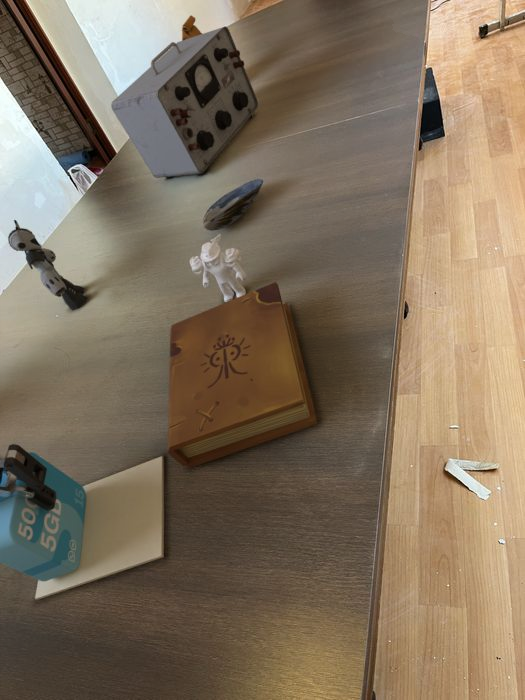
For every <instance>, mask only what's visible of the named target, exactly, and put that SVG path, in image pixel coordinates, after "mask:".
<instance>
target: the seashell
mask: <svg viewBox="0 0 525 700" xmlns="http://www.w3.org/2000/svg"><path fill="white" fill-rule="evenodd" d="M263 183H264V180H263V179H262V178H255V179H253V180H250V181H248V182H245V183H243V184H241V185H240V186H238V187H236V188H234V189H232V190H231V191H229V192H227V193H225V194H224V195H222V196H221V197H220V198H219V199H217V200H216V201H215V202H214V203H213V204H211V205H210V207H208V209H207V210H206V212H205V214H204V216H203V218H202V222H201V223H202V227H203V228H204V229H205V230H207V231H211V232H213V231H220V230H222V229H226V228H228V227H229V226H231V225H232V224H234V223H235V222H236V221H237V220H239V219H240V218H241V217H242V216H244V215H245V213H246V212H247V210H248V209H249V208H250V207H251V205H252V204H253V202H254V200H255V199H256V197H257V196H258V194H259V193H260V190H261V188H262V186H263Z"/></svg>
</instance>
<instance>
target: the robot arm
mask: <svg viewBox="0 0 525 700" xmlns="http://www.w3.org/2000/svg"><path fill="white" fill-rule="evenodd" d="M7 447H8V448H7V451H5V452H3V453H0V484H1V481H2V477H3V474H2V473H5V474H6V475H7V480H6V484H5V486H0V496H1V497H9V496H10V495H16V496H20V497H25V498H27V499H28V500H29V501H31V502H33V503H34V504H36V505H38V506H40V507H41V508H43V509H45V510H46V511H49V510H52V509H54V508H55V503H56V494H57V493H56V492H55V491H54V490H53V489H51V488H49V487H48V486H46V485H45V484H44V482H45V477H46V472H47V468H46V467H45V466H43V465H42V464H41V463H40V462H39V461H37V460H36V459H35V458H34V457H33V456H31V455H30V454H29V452H28V451H27V450H25V449H24V448H23V447H22V446H21V445H19V444H17V443H11V444H9V445H8V446H7ZM33 472H34V473H33ZM16 480H20V481H23V482H24V483H25V487H20V486H17V485H16V484H15V483H16Z"/></svg>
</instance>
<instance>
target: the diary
mask: <svg viewBox="0 0 525 700" xmlns="http://www.w3.org/2000/svg"><path fill="white" fill-rule="evenodd" d="M168 367H169V369H168V373H169V374H168V375H169V376H168V416H167V417H168V419H167V420H168V421H167V422H168V423H167V454H168V455H170V457H172V458H173V459H174V460H175V461H176V462H177V463H178V464H179V465H180V466H182V467H185V468H194V467H197V466H200V465H202V464H205V463H209V462H211V461H214V460H217V459H220V458H223V457H226V456H228V455H233V454H234V453H237V452H240V451H243V450H246V449H249V448H252V447H255V446H258V445H261V444H263V443H266V442H269V441H272V440H275V439H278V438H281V437H283V436H287V435H289V434H292V433H295V432H299V431H301V430H304V429H307V428H310V427H312V426H315V425H317V424H319V423H318V419H317V415H316V410H315V406H314V402H313V399H312V393H311V390H310V386H309V385H310V384H309V382H308V378H307V373H306V369H305V366H304V362H303V358H302V353H301V350H300V346H299V341H298V338H297V333H296V329H295V324H294V321H293V316H292V311H291V309H290V305H289V304H288V302H286V303H283V299H282V295H281V290H280V287H279V284H278V282H277V281H274V282H271V283H270V284H266V285H265V286H262V287H260V288H257V289H255V290H252V291H250V292H248V293H247V292H246V294H245V295H243V296H240V297H238V298H237V297H236V298H233V299H232V300H231V301H228V302H223V303H221V304H219V305H217V306H213V307H211V308H209V309H206V310H204V311H202V312H200V313H197V314H194V315H192V316H190V317H187V318H184V319H182V320H180V321H178V322H175V323H173V324H171V327H170V329H169V366H168Z"/></svg>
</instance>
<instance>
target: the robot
mask: <svg viewBox="0 0 525 700" xmlns="http://www.w3.org/2000/svg"><path fill="white" fill-rule="evenodd" d="M13 222H14V225H15V227H14V229H13V230H11V231H10V232H9V233H8V238H7V239H8V244H9V246H10V248H11V249H13V250H14V251H16V252H18V251H19V252H24V254H25V260H26V262H27V264H28V266H29V268H30V269H31V270H34V268H35V269H37V271H38V272H39V278H40V281H41V283H42V285H43V286H44V287H45V288H46V289H47V290H48V291H49V292H50V293H51V294H52V295H53V296H55V297H58V298H60V297H61V298H62V299H63V301H64V303H65V304H66V305H67V307H68V308H69V309H70V310H71V311H75V310H78V309H80V308H82V307H83V306H84V305H85V304H86V303H87V301H88V298H89V297H88V296H86V295H85V294H84V291H85V288H84V287H83V286H81V285H78V284H74V283H73V282H71V281H70V280H68V279H66V278H64V276H63V275H61V274H59V272H58V271H57V270H56V268H55V266H54V264H53V263H54V262H55V261H56V259H57V255H56V253H55V252H54V251H53V250H51V249H48V248H45V247H42V246H43V245H42V244H41V243H40V242H39V241H38V240H37V239H36V236H35V235H34V233H33V231H31V230H30V229H28V228H24V227H20V225H19V223H18V221H17V220H16V219H14V220H13ZM33 267H34V268H33Z"/></svg>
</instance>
